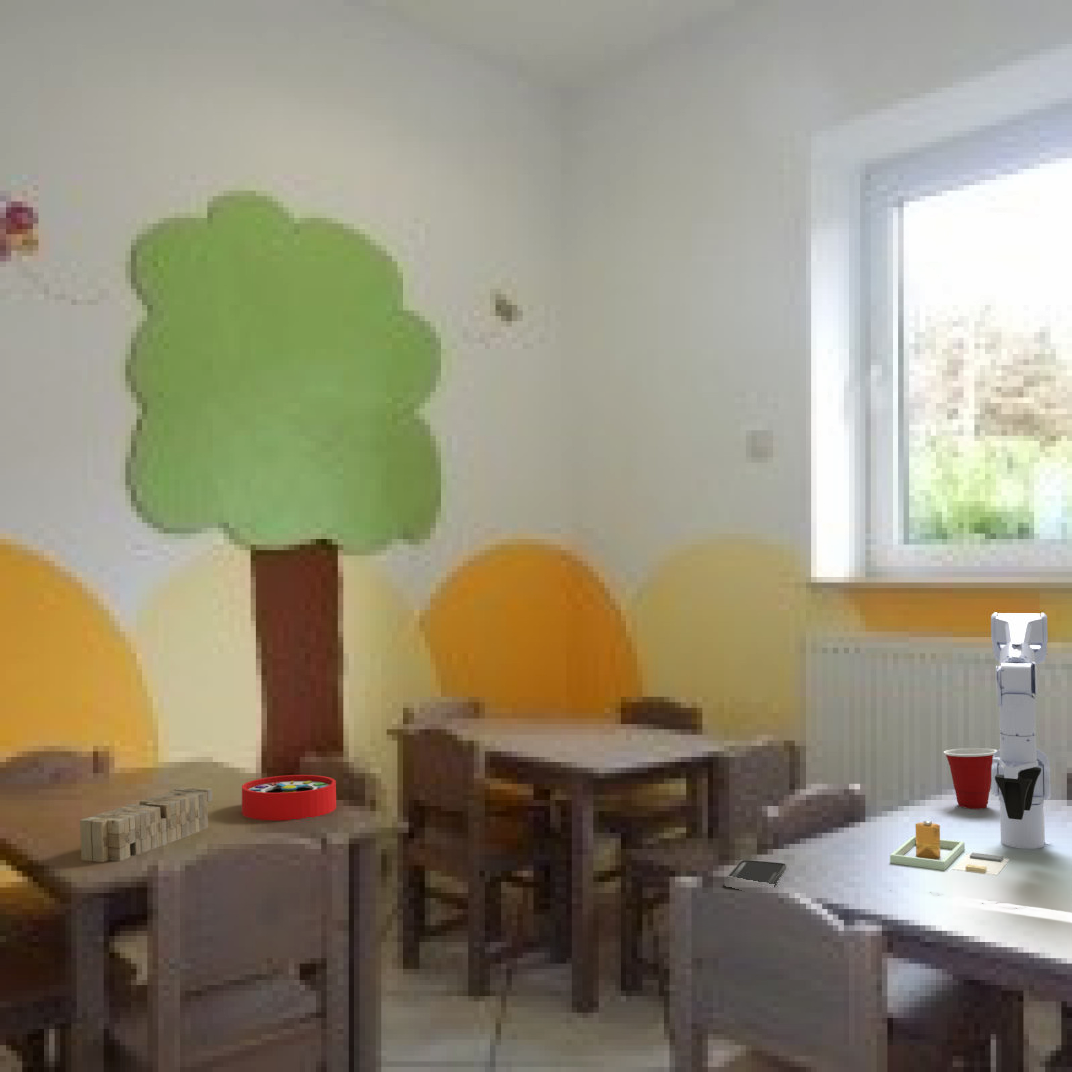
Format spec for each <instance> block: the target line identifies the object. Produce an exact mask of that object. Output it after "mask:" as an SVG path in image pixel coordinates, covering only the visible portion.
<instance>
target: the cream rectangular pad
mask: <svg viewBox="0 0 1072 1072" xmlns="http://www.w3.org/2000/svg"><path fill="white" fill-rule="evenodd" d="M1009 861H1010V859H1009V858H1004V856H1003V855H995V854H989V853H987V854H986V853H980V852H979V853H978V852H971V853H966V854H965V855H964V856H963V857H962V858H961V859H960V861H959V862H958V863H957V864H956V865H955V866H954V867H953V868H952V870H954V871H962V872H963V871H964V872H970V873H978V874H985V875H992V876H998V875H999V874H1000V872H1001V871H1002V870H1003V869H1004V868H1005V866H1006V865H1007V863H1009Z"/></svg>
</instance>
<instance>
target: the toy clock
mask: <svg viewBox="0 0 1072 1072" xmlns="http://www.w3.org/2000/svg"><path fill="white" fill-rule="evenodd" d="M336 785H337V780H335V779H334V778H332V777H328V776H323V775H314V774H311V775H310V774H292V775H291V774H290V775H278V776H269V777H262V778H258V779H255V780H250V781H247V782H245V783H243V784H242V785H241V814H242V815H243V817H245V818H248V819H253V820H260V821H292V820H291V819H296V820H302V819H301V818H305V819H307V818H306V817H312V818H317V817H320V815H321V816H324V815H327V813H328V814H330V813H332V812H334V811H335V810H336V809H337V788H336V787H337V786H336ZM316 816H317V817H316Z"/></svg>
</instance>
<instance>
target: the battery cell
mask: <svg viewBox="0 0 1072 1072" xmlns="http://www.w3.org/2000/svg"><path fill="white" fill-rule="evenodd" d="M915 836H916V845H915V857H918V858H926V859H934V860H939V859H940V858H941V848H940V839H941V825H939V824H937V823H934V822H932V821H930V820H923V822H917V823H915Z"/></svg>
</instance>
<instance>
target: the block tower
mask: <svg viewBox="0 0 1072 1072" xmlns="http://www.w3.org/2000/svg"><path fill="white" fill-rule="evenodd" d="M212 801H213V790H212V788H211V787H210V788H209V787H208V788H206V787H202V788H201V787H185V786H184V787H178V788H175V789H173V790H170V791H169V792H166V793H162V794H159V795H155V796H151V797H149V798H146V799H142V800H140V801H139V802H138V803H139V804H126V805H124V806H121V807H118V808H115V809H112V810H107V811H104V812H102V813H101V812H100V813H99V814H95V815H92V816H90V817H87V818H82V819H80V820H79V831H80V851H81V852H80V855H81V859H80V860H81V861H90V862H92V861H93V862H101V863H103V862H107V861H118V862H121V861H124V860H127V859H129V858H131V855H133V856H138V855H140V854H144V853H145V852H148V851H150V850H153V849H157V848H159V847H161V846H162V847H163V846H164V845H167V844H170V843H172V842H174V841H177V840H178V841H179V840H181V839H183V838H186V837H188V836H191V835H194V834H196V833H199V832H201V831H204V830H206V829H208V828H209V818H208V817H209V815H208V803H209V802H212Z"/></svg>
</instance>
